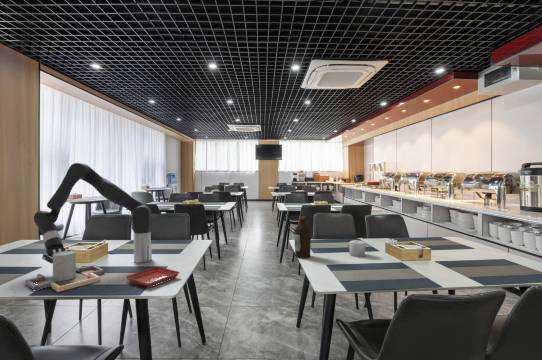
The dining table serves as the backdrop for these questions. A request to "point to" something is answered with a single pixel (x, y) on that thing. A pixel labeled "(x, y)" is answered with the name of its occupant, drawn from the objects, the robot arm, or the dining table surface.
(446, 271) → the dining table surface
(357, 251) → the toilet tissue
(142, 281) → the plant saucer
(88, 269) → the two-trap box
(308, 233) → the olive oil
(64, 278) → the grey concrete cylinder
